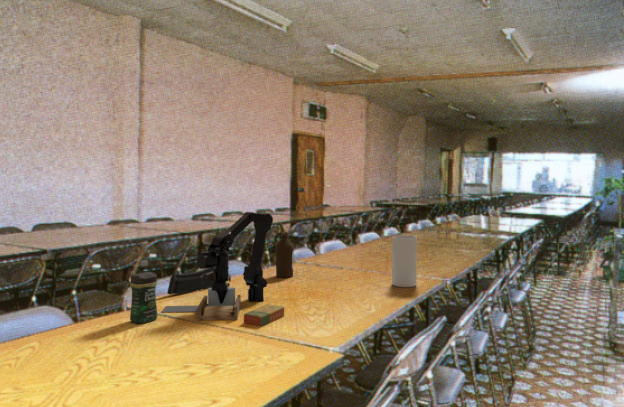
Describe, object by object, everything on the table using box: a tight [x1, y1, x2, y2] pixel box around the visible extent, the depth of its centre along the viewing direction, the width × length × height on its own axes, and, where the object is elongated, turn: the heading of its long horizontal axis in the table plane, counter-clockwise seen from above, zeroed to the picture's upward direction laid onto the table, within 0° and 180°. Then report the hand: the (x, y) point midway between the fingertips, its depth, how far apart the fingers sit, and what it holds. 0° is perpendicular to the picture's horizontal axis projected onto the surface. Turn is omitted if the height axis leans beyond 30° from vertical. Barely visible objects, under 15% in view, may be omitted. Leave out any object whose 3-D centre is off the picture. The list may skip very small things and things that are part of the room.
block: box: [207, 287, 236, 306], centre depth 198 cm, size 11×3×8 cm, turn 95°
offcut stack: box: [203, 306, 234, 316], centre depth 188 cm, size 12×6×4 cm, turn 95°
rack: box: [196, 294, 242, 321], centre depth 192 cm, size 15×19×5 cm
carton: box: [243, 303, 285, 328], centre depth 183 cm, size 8×16×4 cm, turn 151°
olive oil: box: [274, 231, 295, 279], centre depth 263 cm, size 11×11×25 cm
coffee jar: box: [129, 271, 158, 324], centre depth 181 cm, size 10×8×19 cm
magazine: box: [166, 267, 215, 295], centre depth 229 cm, size 17×3×30 cm
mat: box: [160, 304, 199, 313], centre depth 197 cm, size 16×9×1 cm, turn 95°
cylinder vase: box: [391, 234, 418, 288], centre depth 243 cm, size 12×12×25 cm
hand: (221, 302), depth 198 cm, fingers closed on block, 3 cm apart
